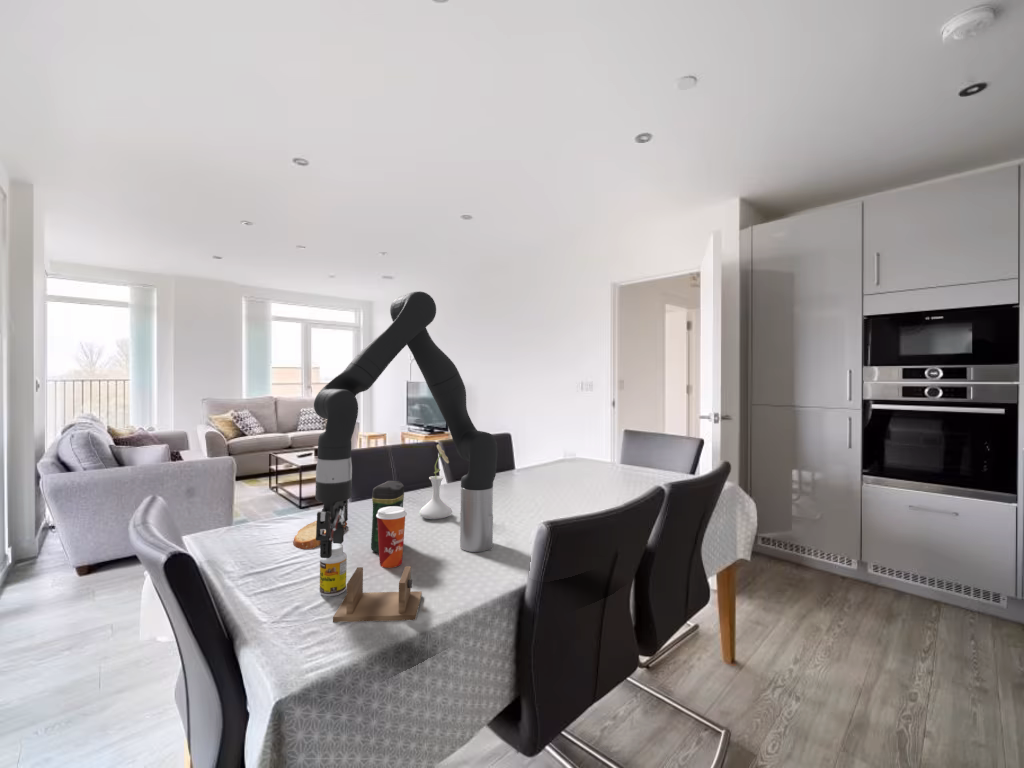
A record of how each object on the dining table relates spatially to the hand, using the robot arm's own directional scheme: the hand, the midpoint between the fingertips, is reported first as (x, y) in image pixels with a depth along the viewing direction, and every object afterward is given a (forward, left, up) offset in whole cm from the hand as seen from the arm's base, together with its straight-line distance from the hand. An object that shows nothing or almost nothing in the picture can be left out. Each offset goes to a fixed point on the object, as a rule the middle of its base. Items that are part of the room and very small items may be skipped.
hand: (332, 550), depth 101 cm
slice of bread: (+15, -37, -10) cm, 41 cm away
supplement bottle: (0, 0, -10) cm, 10 cm away
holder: (-12, +8, -9) cm, 17 cm away
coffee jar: (-7, -26, -10) cm, 29 cm away
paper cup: (-10, -15, -10) cm, 21 cm away
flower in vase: (-18, -55, -10) cm, 59 cm away
